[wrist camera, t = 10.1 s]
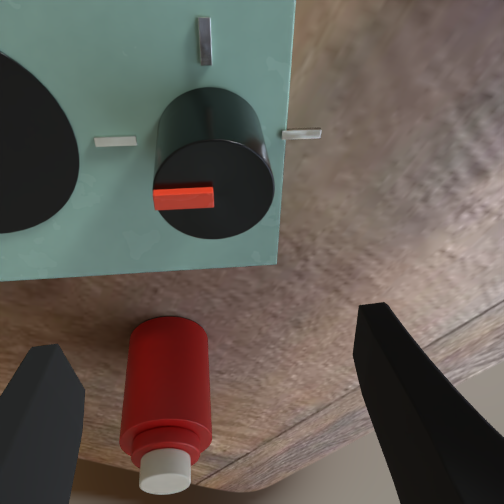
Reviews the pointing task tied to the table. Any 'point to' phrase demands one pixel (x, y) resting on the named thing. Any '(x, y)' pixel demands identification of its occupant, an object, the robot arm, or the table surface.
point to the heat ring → (32, 150)
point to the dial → (211, 165)
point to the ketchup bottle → (166, 402)
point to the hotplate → (144, 123)
